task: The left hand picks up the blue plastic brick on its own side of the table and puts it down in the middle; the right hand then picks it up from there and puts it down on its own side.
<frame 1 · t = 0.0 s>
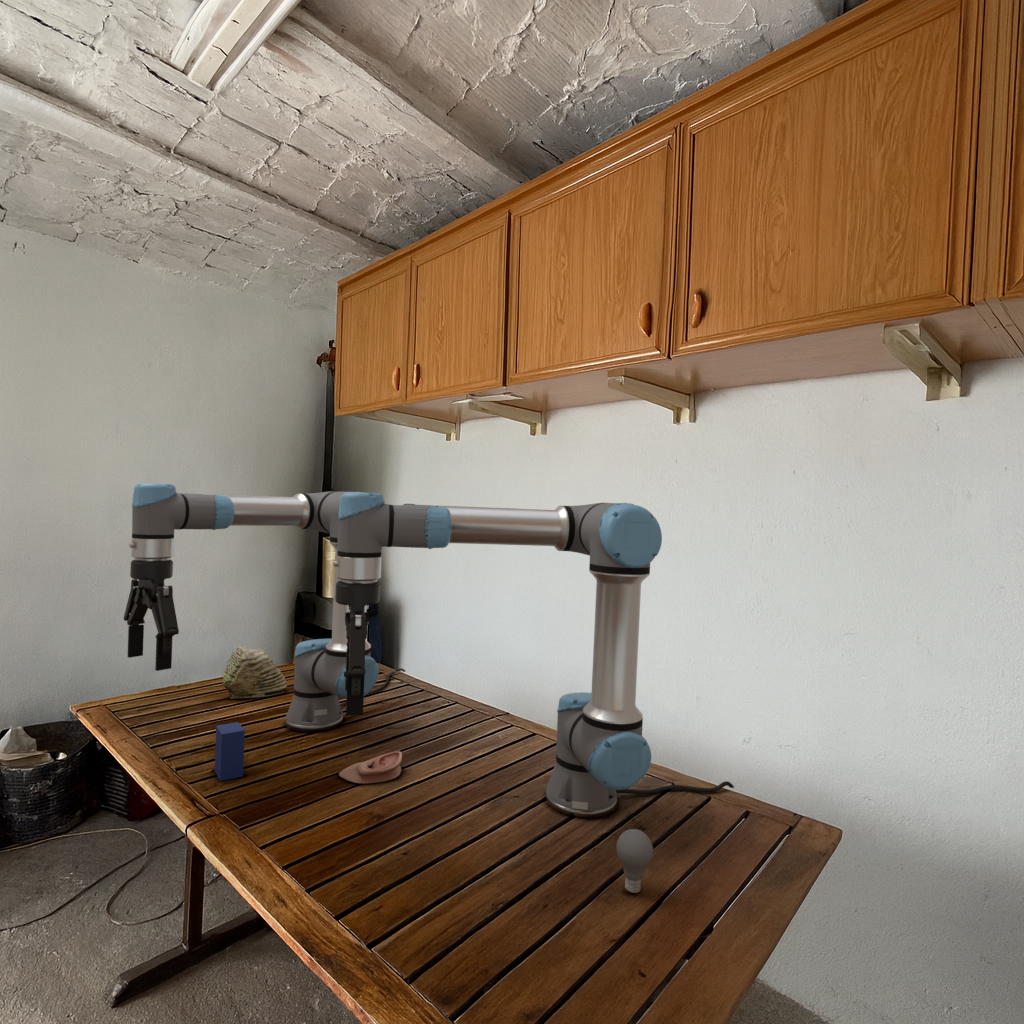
left hand: (148, 662, 129), 28 cm above the table, tool pointing down, fingers open, 13 cm apart
right hand: (353, 701, 111), 28 cm above the table, tool pointing down, fingers open, 13 cm apart
brick: (228, 773, 143), on the table
light bulb: (632, 891, 106), on the table
anatomical model: (370, 774, 146), on the table
fossil: (254, 694, 198), on the table
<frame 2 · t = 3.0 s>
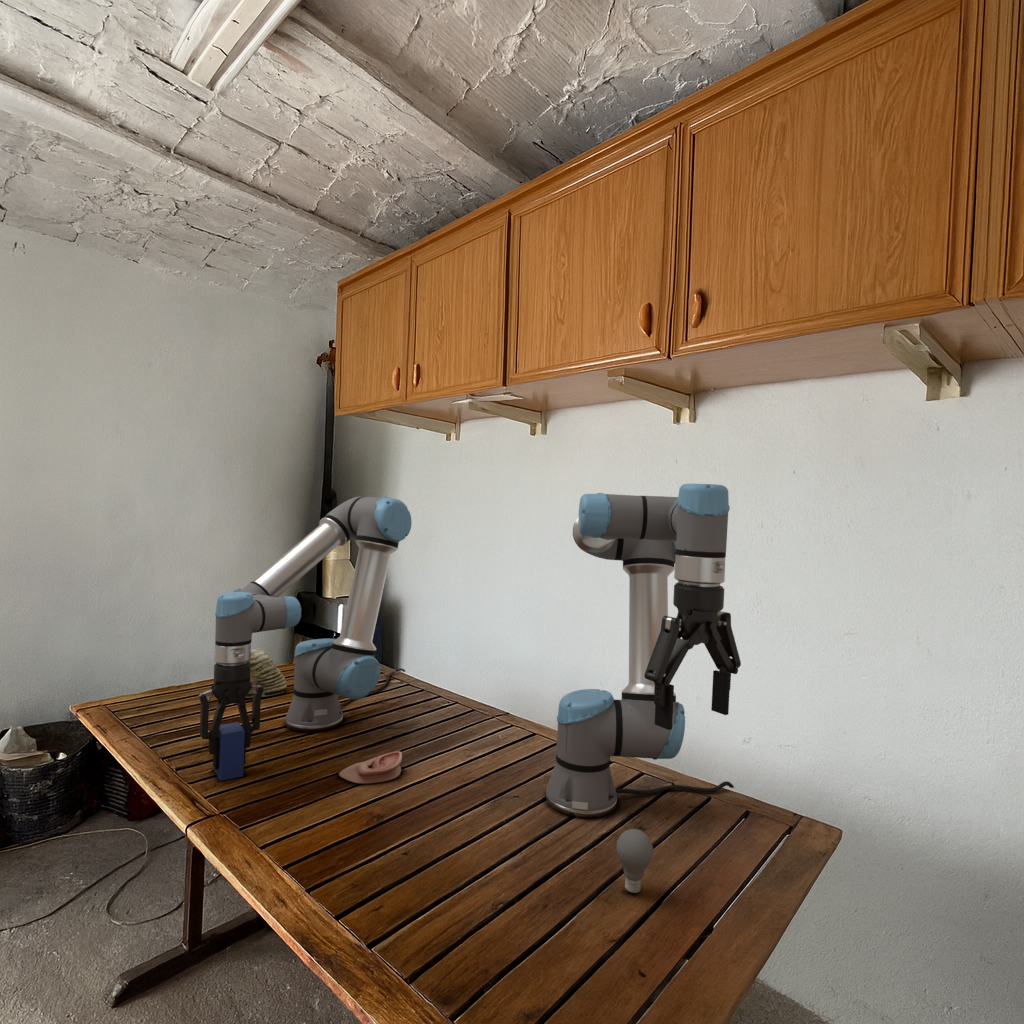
left hand: (229, 764, 143), 2 cm above the table, tool pointing down, fingers closed on brick, 5 cm apart
right hand: (692, 719, 99), 32 cm above the table, tool pointing down, fingers open, 13 cm apart
brick: (228, 773, 143), on the table, touching left hand
everything else where it was.
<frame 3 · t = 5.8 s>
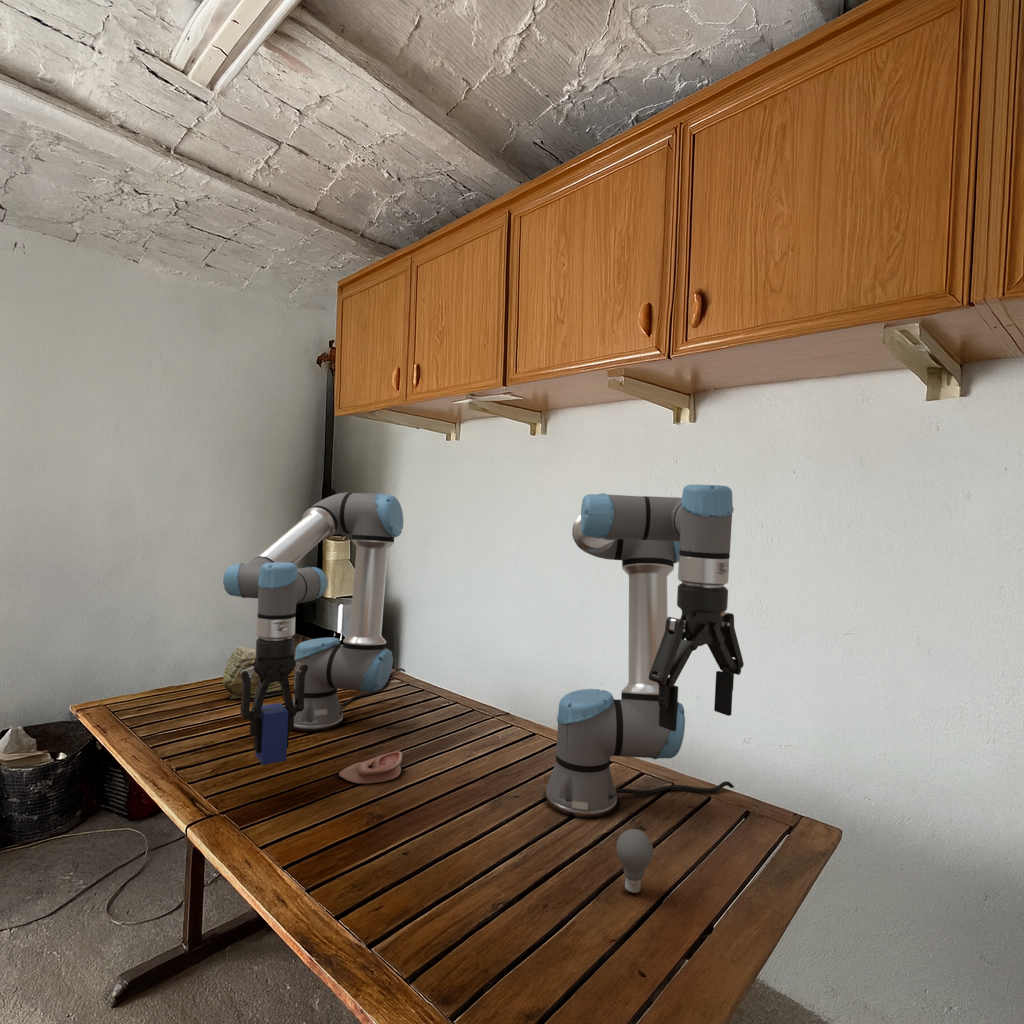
left hand: (271, 748, 132), 10 cm above the table, tool pointing down, fingers closed on brick, 5 cm apart
right hand: (696, 720, 99), 31 cm above the table, tool pointing down, fingers open, 13 cm apart
brick: (270, 758, 132), point 8 cm above the table, touching left hand
everything else where it was.
when the left hand's fingers open (3 cm above the table, at t = 8.7 s): brick drops 1 cm, on the table.
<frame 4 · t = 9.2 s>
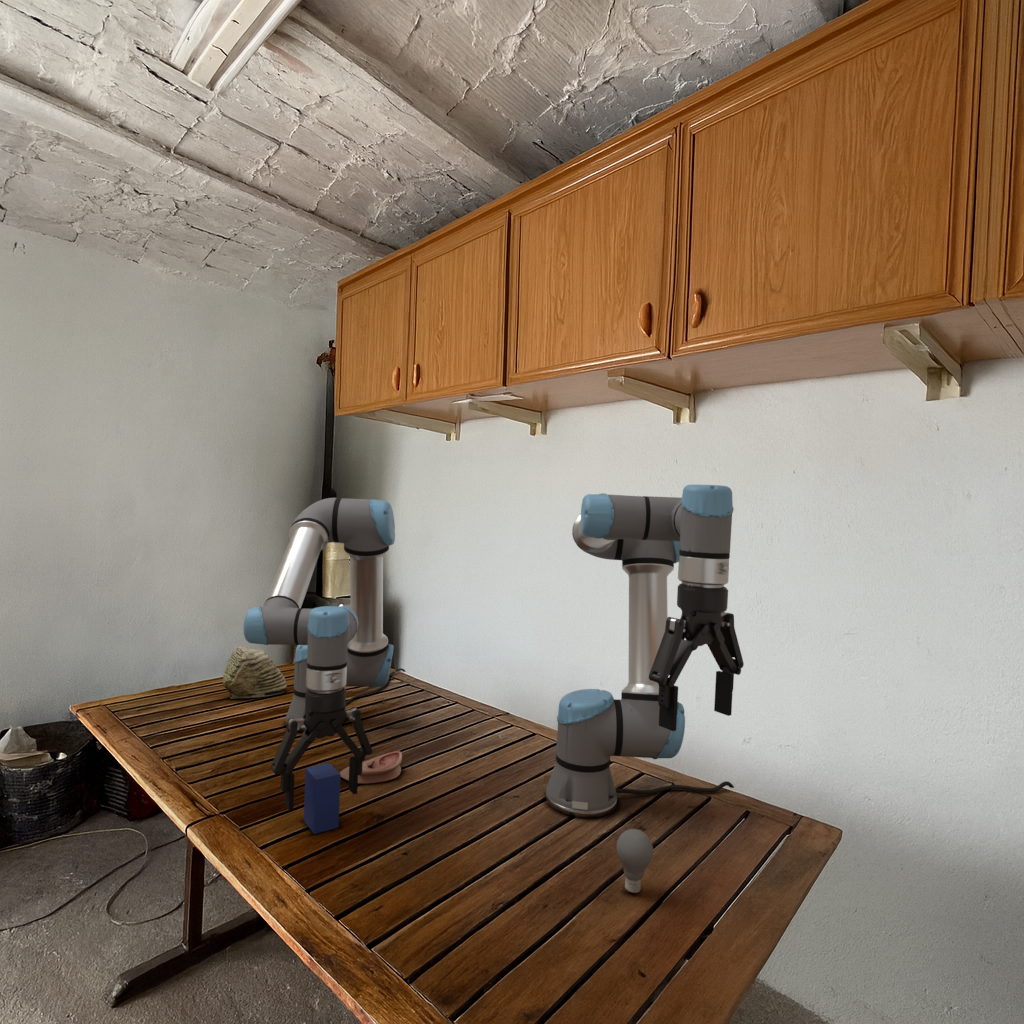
left hand: (321, 799, 123), 5 cm above the table, tool pointing down, fingers open, 12 cm apart
right hand: (696, 720, 99), 31 cm above the table, tool pointing down, fingers open, 13 cm apart
brick: (320, 824, 123), on the table
everything else where it was.
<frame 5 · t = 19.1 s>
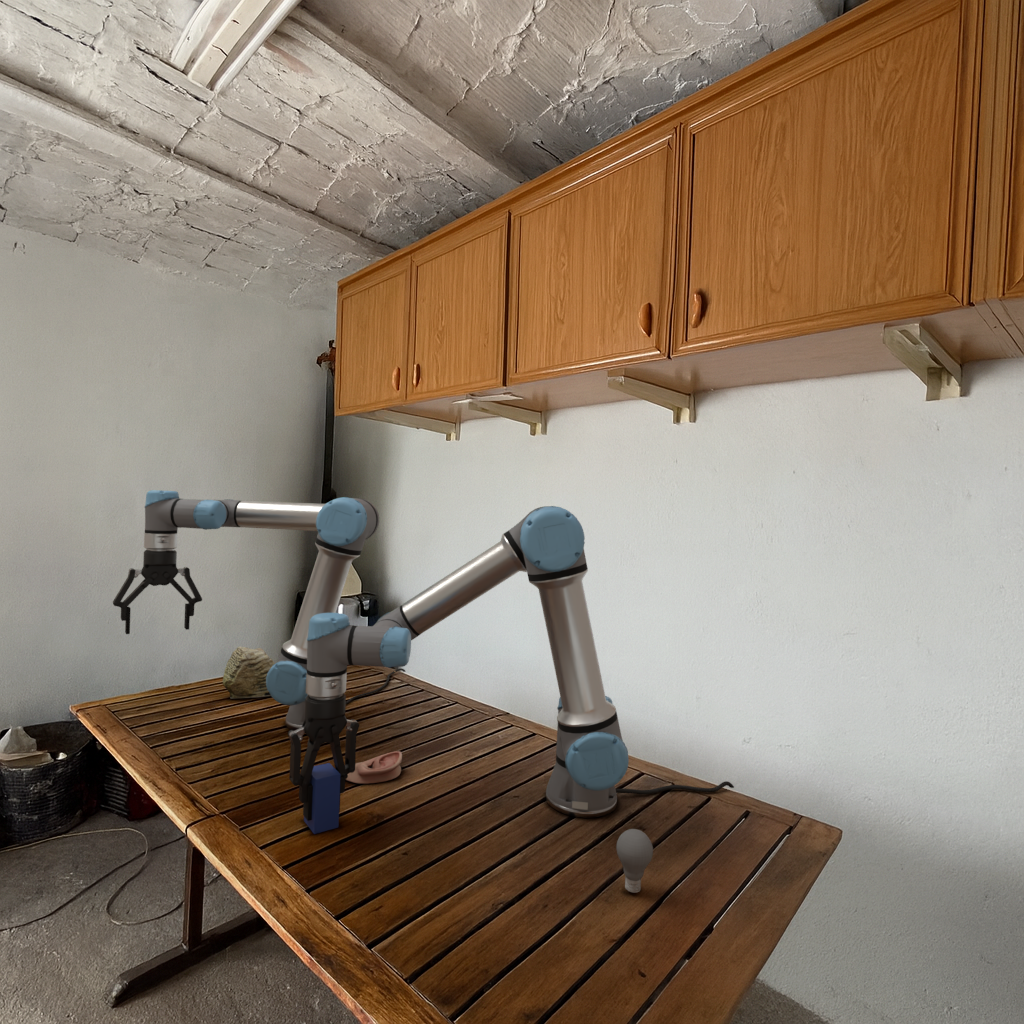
left hand: (157, 630, 165), 26 cm above the table, tool pointing down, fingers open, 13 cm apart
right hand: (321, 813, 123), 2 cm above the table, tool pointing down, fingers closed on brick, 5 cm apart
brick: (321, 824, 123), on the table, touching right hand
everything else where it was.
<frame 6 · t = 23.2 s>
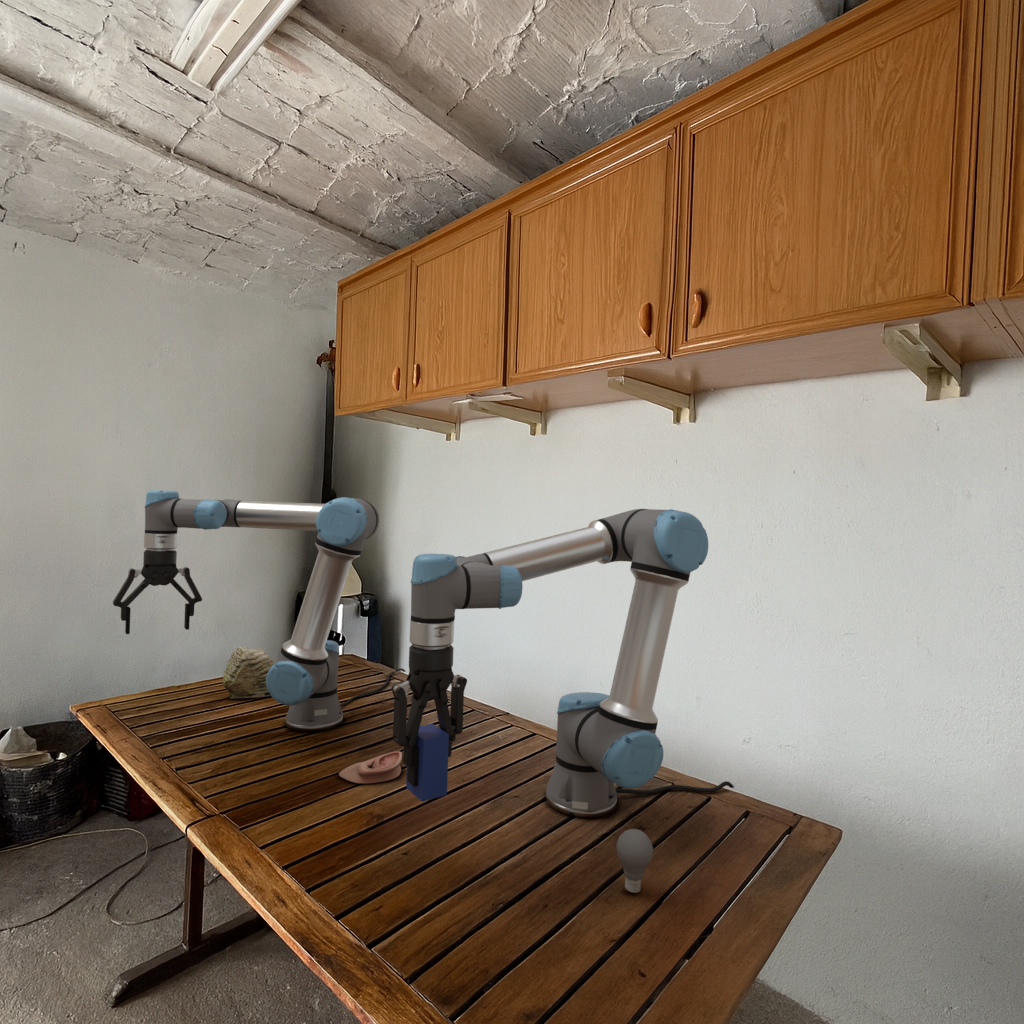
left hand: (157, 630, 165), 26 cm above the table, tool pointing down, fingers open, 13 cm apart
right hand: (426, 779, 109), 16 cm above the table, tool pointing down, fingers closed on brick, 5 cm apart
brick: (426, 791, 109), point 14 cm above the table, touching right hand
everything else where it was.
when the right hand's fingers open (3 cm above the table, at t = 27.1 s): brick drops 1 cm, on the table.
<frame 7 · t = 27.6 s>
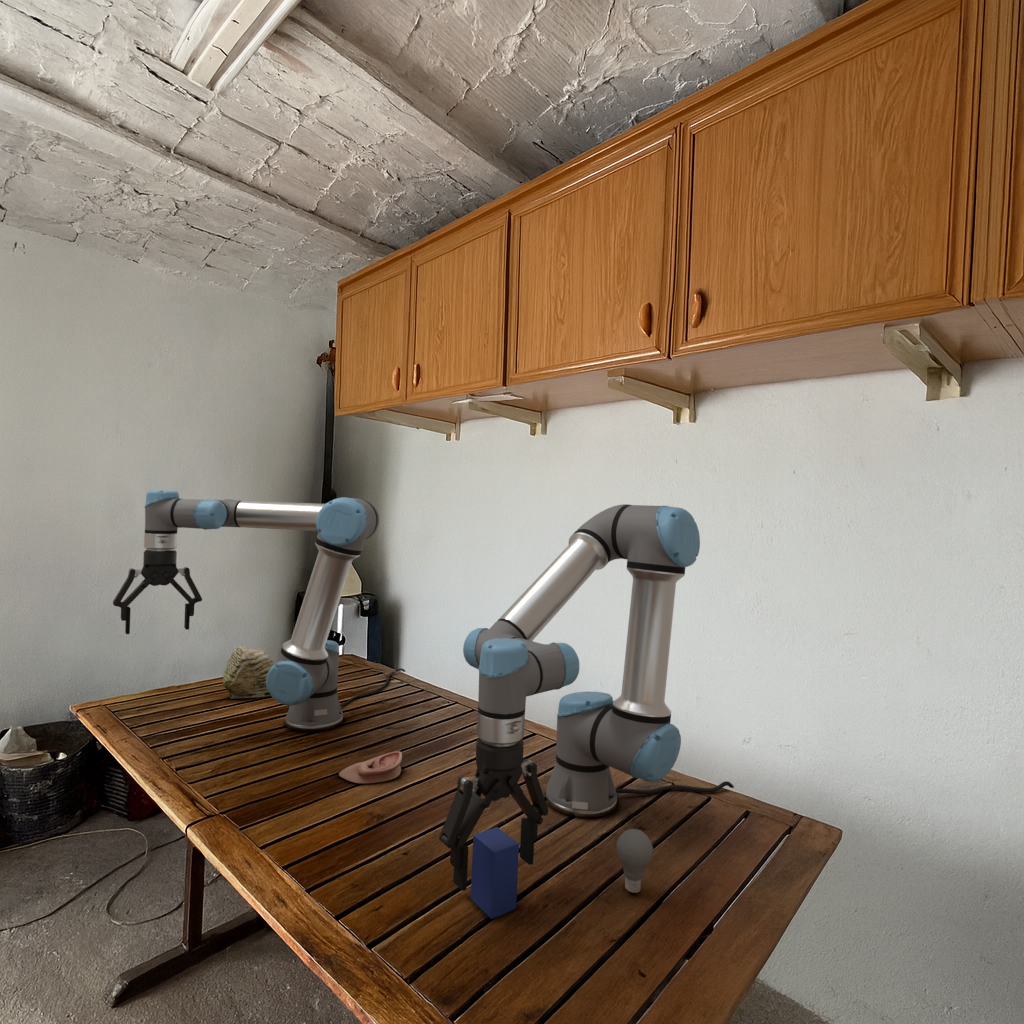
left hand: (157, 630, 165), 26 cm above the table, tool pointing down, fingers open, 13 cm apart
right hand: (494, 872, 101), 5 cm above the table, tool pointing down, fingers open, 12 cm apart
brick: (493, 903, 101), on the table
everything else where it was.
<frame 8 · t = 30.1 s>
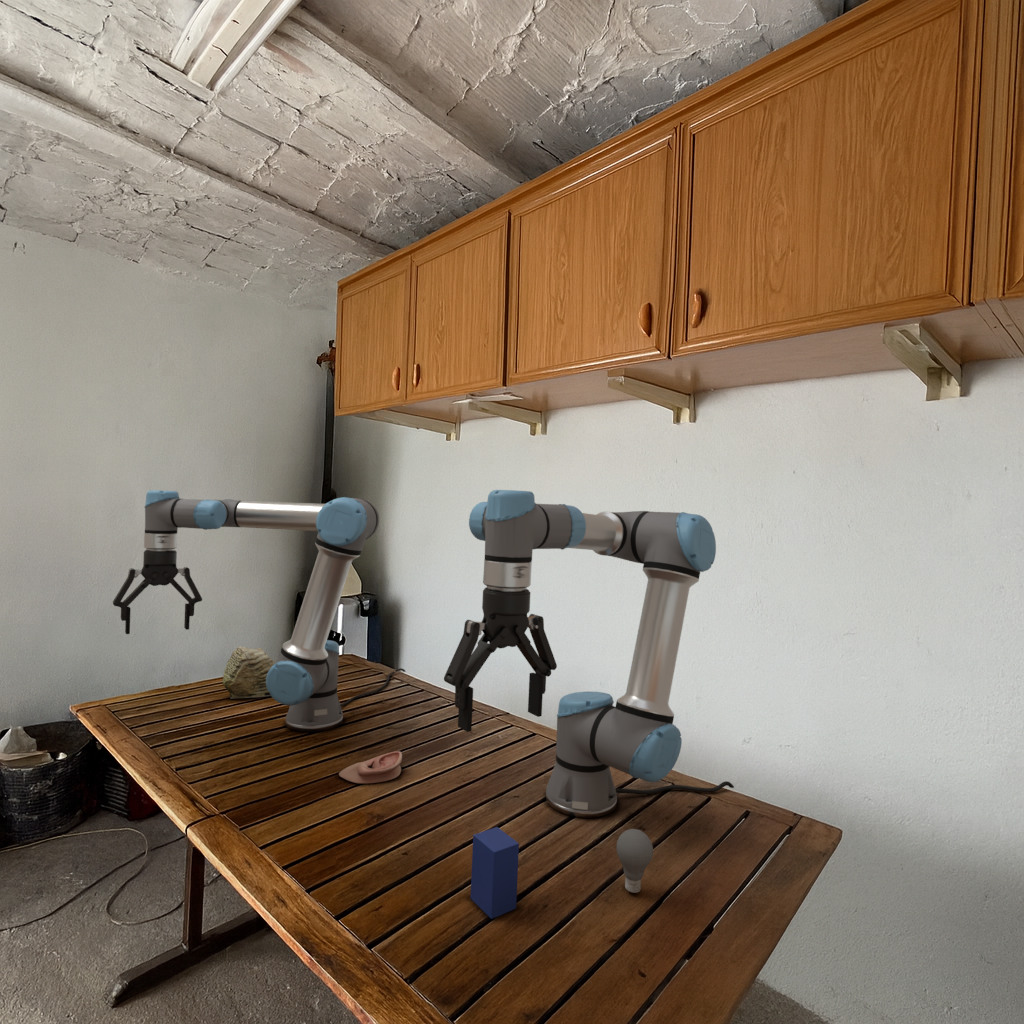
left hand: (157, 630, 165), 26 cm above the table, tool pointing down, fingers open, 13 cm apart
right hand: (501, 721, 100), 29 cm above the table, tool pointing down, fingers open, 13 cm apart
nothing on the table moved.
at the end: brick inside the target area (0.1 cm from its centre), on the table; brick tilted 0°; the two hands never held the brick at the same time; the left hand is holding nothing; the right hand is holding nothing; brick at rest at the end (0.0 cm/s) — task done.
